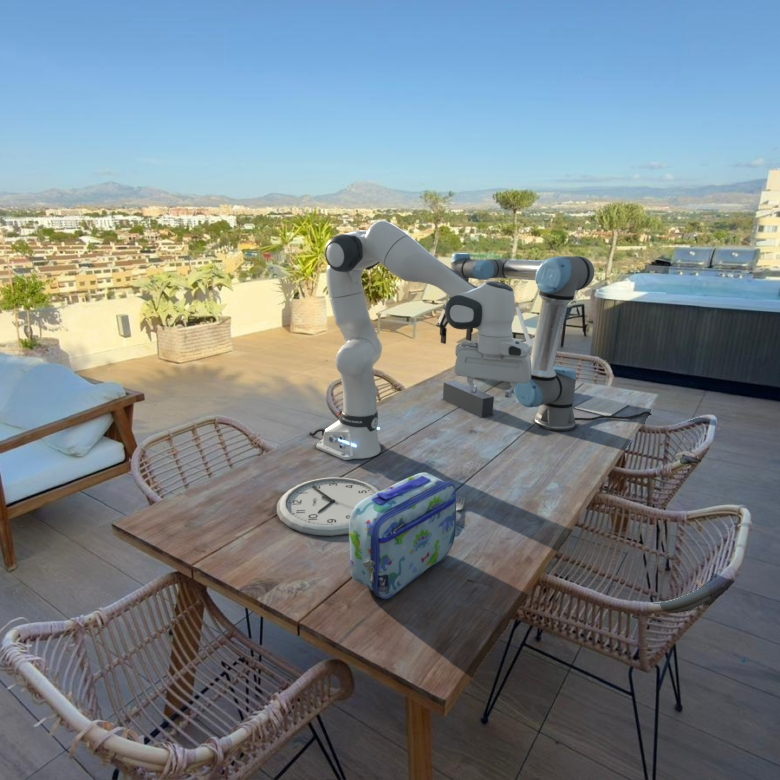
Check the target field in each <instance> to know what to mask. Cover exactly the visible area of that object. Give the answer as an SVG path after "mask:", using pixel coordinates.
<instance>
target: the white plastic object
mask: <svg viewBox="0 0 780 780" xmlns="http://www.w3.org/2000/svg"><path fill="white" fill-rule="evenodd" d="M515 311H516V314H517V317H518V320H519V323H520V326H521V329H522V332H523V336H524V338H525V341H522V342H523V343H525V344H527V345H528V346H529V351H528V353H527V354H528V355H529V356H530V357H531V352H532V348H533V343H534V338H535V337H532V338H531V337H530V334H529V332H528V328H527V325H526V322H525V320H524V315H523V313H522V311H521V310H520V307H519V306H517V307H516V306H515ZM512 338H513V339H514V336H512Z"/></svg>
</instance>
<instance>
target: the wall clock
mask: <svg viewBox="0 0 780 780" xmlns="http://www.w3.org/2000/svg"><path fill="white" fill-rule="evenodd" d="M380 491H381V490H380V489H379V488H377V487H376V486H374V485H372V484H371V483H369V482H365V481H362V480H359V479H355V478H349V477H338V476H337V477H335V476H333V477H332V476H331V477H322V478H317V479H312V480H307V481H305V482H302V483H299V484H297V485H295V486H293V487H292V488H290V489H288V490H287V491H286V492H285V493H284V494H283V495H281V496H280V498H279V499H278V502H277V503H276V515H277V517H278V518H279V520H280V521H281V522H282V523H283V524H285V525H286V526H287V527H288V528H290V529H293V530H295V531H297V532H299V533H303V534H308V535H312V536H327V537H328V536H329V537H331V536H332V537H333V536H342V535H349V520H350V515H351V513H352V511H353V509H354V507H355V506H356V505H357V504H358V503H359V502H360V501H362V500H363V499H365V498H367V497H370V496H372V495H374V494H376V493H378V492H380Z"/></svg>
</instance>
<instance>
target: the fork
mask: <svg viewBox="0 0 780 780" xmlns="http://www.w3.org/2000/svg"><path fill="white" fill-rule="evenodd" d="M460 498H461V499H460ZM465 498H466V496H464V498H463V497H461V496H460V495H458V494H456V512H457V511H462V510H463V509H464V504H465Z"/></svg>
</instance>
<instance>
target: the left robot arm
mask: <svg viewBox="0 0 780 780" xmlns="http://www.w3.org/2000/svg"><path fill="white" fill-rule="evenodd" d="M324 257H325V261H326V264H327V267H326V269H325V270H326V271H325V272H326V273H325V275H326V285H327V286H326V287H327V293H328V294H327V295H328V298H329V302H330V307H331V311H332V315H333V319H334V323H335V325H336V326H337V327H338V329H339V330H340V332H341V334H342V335H341V336H342V337H343V340H344V344H343V345H342V346H341V347H340V348H339V350H338V351H337V353H336V355H335V358H334V359H335V361H334V364H335V367H336V369H337V371H338V373H339V376H340V377H339V378H340V380H341V386H342V396H343V397H342V402H343V403H342V406H343V407H342V409H340V411H338V412H336V417H338V416H339V418H338V419H337V420H336V421H335V422H333V423H331V424H330V425H328V426H325V427H324V428H317V429H316V430H314V432H312V431H311V432H309V433H308V434H309V435H310V436H311V437H314V436H315V435H317V433H319V432H321V436H322V439H320V440H319V441H318V442H317V443H316V449H318V450H320V451H322V452H325V453H327V454H329V455H331V456H334V457H335V458H339V459H340V460H343V461H350V460H355V459H357V460H359V459H368V458H373V457H375V456H377V455H379V454H380V453H381V451H382V448H381V445H380V440H379V434H378V430H379V431H380V429H381V427H379V426H378V424H379V411H378V410H377V405H378V403H377V402H378V401H377V399H378V391H377V390H378V389H377V386H376V385H375V378H374V372H373V371H374V370H373V369H374V366H375V365H376V363H377V362H379V360H380V359H381V355H382V353H383V344H382V342H381V340H380V338H379V337H378V335H377V332H376V329H375V326H374V324H373V322H372V319H371V316H370V313H369V308H368V304H367V299H366V295H365V291H364V286H363V281H362V274H363V272H364V270H367V271H370V270H372V269H373V268H375V267H376V266H378V265H379V264H380V265H382V266H383V267H384V268H385V269H386V270H387V271H388V272H390V274H392V275H393V276H395V277H397V278H398V279H400V280H402V281H405V282H411V283H421V284H427V285H429V286H434V287H436V288H438V289H440V290H441V291H442V292H443V293H445V294H446V295H447V296H449V297H451V298H450V299H449V298H448V300H447V302H446V303H445V304H446V306H445V316H446V319H447V321H448V324H449V326H450V327H452V328H453V329H456V330H463V331H464V330H465V331H466V330H467V329H472V328H473V329H476V330H477V342H467V341H461V342H460V343H457V344H456V346H455V351H454V352H455V356H456V358H455V363H454V374H455V375H456V376H457V377H466V382H467V384H468V386H469V387H471V388H470V393H476V392H477V390H478V385H475V383H474V381H473V380H474V379H482V380H490V381H497V382H498V381H499V382H508V383H509V386H510V389H506V390H505V392H504V394H505V395H504V398H507V399H511V398H512V396H513V395H512V394H513V391H514V388H515V386H516V385H517V383H523V384H527V383H528V382H529V381H530V380H531V372H532V368H531V359H530V357H531V355H530V354H529V355H530V356H529V355H528V354H527V353H528V351H529V346H528V345H527V344H525V343H523V342H524V341H520V340H518V339H516V338H514V337H513V334H514V333H513V327H512V326H513V323H514V319H515V310H516V305H515V304H516V301H515V298H516V297H515V291H514V289H513V288H512V286H510V285H509V284H507V283H504V282H501V281H493V280H492V281H490V280H489V281H486V282H483V284H482V285H480V286H476V285H474V284H472V283H471V282H468V281H466V280H465V279H464V278H462V277H461V276H460V275H458V274H457V273H456V272H454V271H453V270H452V269H451V267H449V266H448V265H446V264H444V263H443V262H442V261H441V260H439V259H438V258H437V257H436V256H434V255H433V254H432V253H430V252H429V251H428V250H427V249H426V248H425V247H423V246H422V245H421V243H419V242H418V241H417V240H415V239H414V237H412V236H411V235H409V234H408V233H407V232H406V231H404V230H403V229H401V228H400V227H398V226H396V225H395V224H393V223H392V222H389V221H387V220H378V221H376V222H374V223H372V225H370V226H369V227H368V229H366V230H365V229H364V230H361V229H360V230H353V231H351V232H346V233H341V234H338V235H335V236H333V237H331V238H330V239H329V240H328V241H327V242H326V244H325V246H324ZM512 337H513V338H512Z"/></svg>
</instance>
